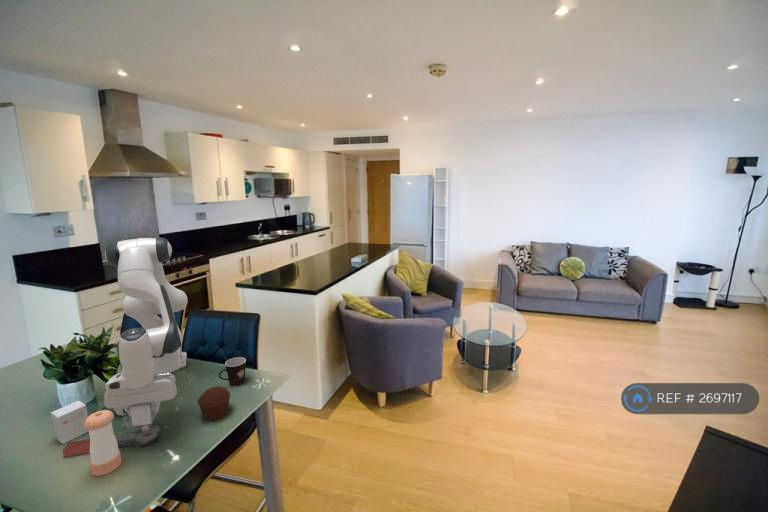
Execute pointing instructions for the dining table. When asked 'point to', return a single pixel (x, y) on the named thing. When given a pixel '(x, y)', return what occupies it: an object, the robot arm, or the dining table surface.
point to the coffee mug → (235, 371)
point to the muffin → (214, 403)
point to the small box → (69, 421)
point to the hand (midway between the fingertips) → (144, 413)
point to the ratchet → (140, 439)
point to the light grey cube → (142, 413)
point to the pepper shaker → (102, 443)
